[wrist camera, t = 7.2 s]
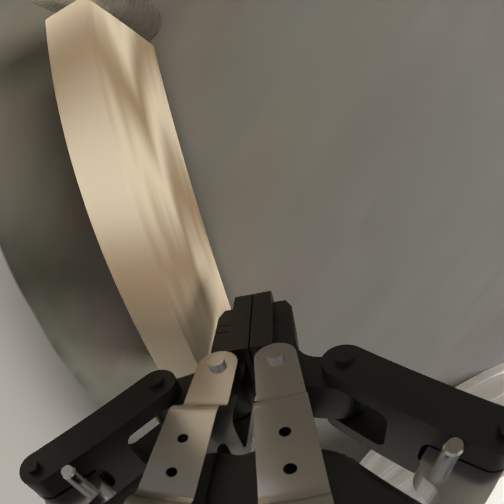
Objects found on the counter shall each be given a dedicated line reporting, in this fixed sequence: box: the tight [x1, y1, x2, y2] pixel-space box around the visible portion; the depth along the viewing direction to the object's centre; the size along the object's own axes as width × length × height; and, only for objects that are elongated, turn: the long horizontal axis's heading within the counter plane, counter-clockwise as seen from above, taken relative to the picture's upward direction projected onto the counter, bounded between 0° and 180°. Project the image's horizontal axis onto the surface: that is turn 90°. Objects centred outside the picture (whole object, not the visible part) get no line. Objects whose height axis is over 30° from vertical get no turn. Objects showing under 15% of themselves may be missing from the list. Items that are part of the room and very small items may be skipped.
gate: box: [45, 0, 231, 379], centre depth 13 cm, size 20×2×8 cm, turn 14°
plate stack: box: [359, 363, 504, 504], centre depth 21 cm, size 28×28×12 cm
